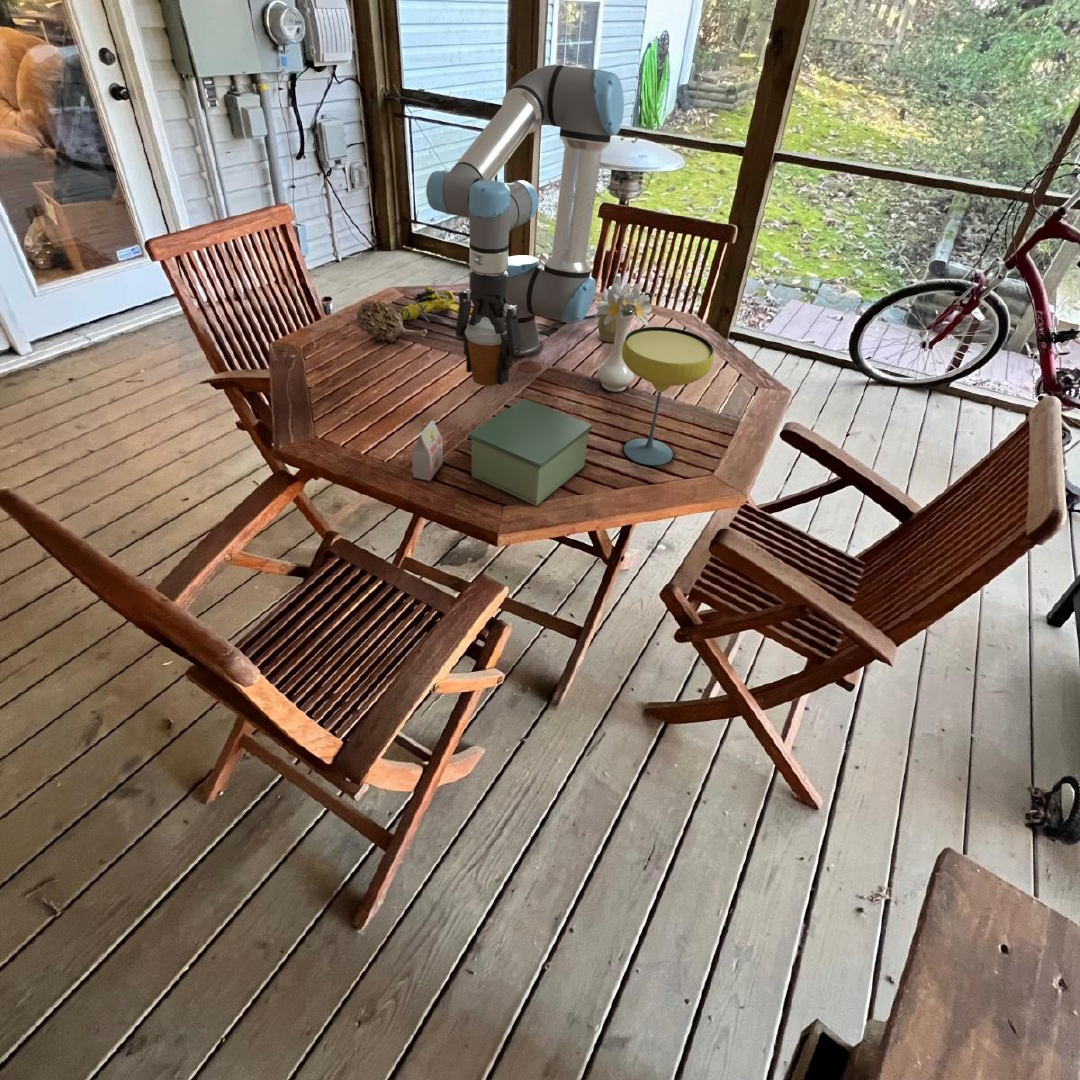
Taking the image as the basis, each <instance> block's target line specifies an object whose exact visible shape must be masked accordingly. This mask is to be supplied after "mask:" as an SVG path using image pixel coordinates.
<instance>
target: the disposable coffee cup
mask: <svg viewBox="0 0 1080 1080" xmlns="http://www.w3.org/2000/svg"><path fill="white" fill-rule="evenodd" d="M505 324H506V323H505ZM506 332H507V331H505V332H503V333H502V334H503V335H505V334H506ZM465 335H466V337H467V340H468V347H469V354H470V362H471V369H472V371H471V376H472V381H473V382H474V383H475V384H477V385H479V386H485V387H490V386H491V387H492V386H496V385H499V384H498V372H499V355H501V354H502V352H501V349H500V344H501V342H502V340H501V336H500V334H499V333H498V334H496V332H495V329H494V326H493V325H492V324H491V322H490V319H488V318H487V317H482V319H481V321H480V323H478V324H476V325H474V326H472V325H470V323H468V325H467V328H466V329H465ZM506 339H507V338H506ZM506 339H504V340H506Z"/></svg>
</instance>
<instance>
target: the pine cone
mask: <svg viewBox="0 0 1080 1080" xmlns="http://www.w3.org/2000/svg"><path fill="white" fill-rule="evenodd" d="M360 304H361V306H358V308H357V309H358V310H357V311H356V312H355V315H356V319H355V321H356V322H357V327H358V328H360V330H361V332H364V333H366V335H367V336H369V337H370V338H372V339H374V338H376V339H377V340H381V341H383V342H384V341H386V340H388V341H389V342H390V343H392V342H395V341H396V339H397V337H399V336H401V335H408V336H419V337H425V336H426V335H427V333H428V329H426V328H424V329H422V330H414V329H406V327H405V326H404V325H403V324H404V322H403V321H404V320H403V316H402V315H401V314H400V313H399V312H397V309H396V308H393V307H392V306H391V305H387V304H386V303H385V302H384V301H381V300H377V301H374V300H372V299H371V300H365V301H364V302H361V303H360Z"/></svg>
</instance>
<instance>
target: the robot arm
mask: <svg viewBox="0 0 1080 1080" xmlns="http://www.w3.org/2000/svg"><path fill="white" fill-rule="evenodd" d="M501 103H502V104H501V107H500V108H499V110H498V111H497V112H496V114H495V115H494V116H493V117H492V119H491V120H490V121H489V122H488V124H487V125H486V126H485V127H484V128H483V130H482V131H481V132H480V134H479V135H477V137H476V138H475V139H474V141H473V142H472V143H471V145H470V146H469V147H468V148H467V150H466V151H465V152H464V153H463V155H462V156H461V157H460V158H459V159H458V161H457V162H456V163H455V165H454V166H453V167H452V168H451V169H450V171H446V170H445V169H444V170H435V171H433V172H431V174H430V175H429V177H428V179H427V183H426V187H425V194H426V196H425V197H426V198H427V203H428V205H429V207H430V208H431V209H432V210H434V211H437V212H441V213H444V214H446V215H451V216H457V217H463V218H467V219H468V226H469V227H468V228H469V230H468V231H469V268H470V270H469V273H468V274H469V289H468V288H467V289H464V290H462V291H460V292H459V293H457V296H458V303H459V304H458V306H459V312H458V314H457V321H456V329H455V336H456V337H457V338H461V340H462V342H463V354H464V356H465V357H466V360H465V362H466V364H465V365H466V366H465V368H466V371H465V372H466V373H469V374H470V373H472V369H471V362H470V354H469V347H468V340H467V337H466V335H465V329H466V328H467V325H468V323H470V325H472V326H474V325H476V324H478V323H480V321H481V319H482V318H488V319H490V322H491V324H492V325H493V326H494V329H495V332H496V334H498V333H499V334H500V336H501V340H502V342H501V344H500V349H501V352H502V354H501V355H499V372H498V384H497V385H500V386H502V385H503V384H505V383H507V382H509V380H510V379H509V378H510V377H509V375H510V370H511V369H512V367H513V358H516V357H517V358H518V357H519V358H520V357H527V356H531V355H534V354H536V353H537V352H538V351H539V350H540V349H541V337H540V335H545V334H549V332H551V331H552V330H553V329H554V328H556V326H558V325H560V324H564V323H565V324H566V322H569V323H568V324H579V323H580V322H582V321H583V320H590V319H594V318H595V316H596V314H589V315H588V313H589V311H590V309H591V307H592V304H593V302H594V300H595V299H594V298H595V295H596V289H597V286H596V285H597V282H596V279H595V278H594V277H592V276H591V267H590V265H589V264H588V262H587V255H588V249H589V248H588V247H589V243H590V242H589V241H590V233H591V228H592V222H593V214H594V207H595V200H596V195H597V187H598V180H599V173H600V166H601V159H602V155H603V154H602V153H603V151H604V150H605V149H606V148H607V147H608V146H610V144H611V137H613V136H616V135H618V134H619V132H620V131H621V127H622V126H621V125H622V124H623V120H624V113H625V111H624V109H625V97H624V89H623V85H622V81H621V79H620V77H619V76H618V75H617V74H616V73H615V72H613V71H607V70H604V69H600V68H597V69H596V68H589V67H578V66H569V65H562V64H557V63H554V64H547V65H543V66H540V67H538V68H536V69H534V70H533V71H530V72H529V73H527V74H525V75H524V76H522V77H521V78H520V79H518V80H517V81H516V82H514V84H513V85H512V86H511V87H510V88H509V89H508V91H507V92H506V93H505V94H504V96H503V98H502V102H501ZM541 126H553V127H556V128H557V127H558V128H559V136H558V137H559V139H560V140H561V142H562V143H563V146H564V151H563V159H562V167H561V168H562V169H561V175H560V185H559V192H558V199H557V200H558V201H557V207H556V208H557V209H556V216H555V224H554V225H555V226H554V233H553V234H554V235H553V240H552V241H553V243H552V248H551V249H552V251H551V256H550V257H549V258H548V259H547V260H545V262H544V265H543V267H542V266H540V261H539V258H537V257H535V256H532V255H512V256H511V255H510V256H509V241H510V240H509V239H510V238H509V237H510V231H512V230H514V229H516V228H517V227H519V226H522V225H524V224H527V222H529V220H531V219H532V218H533V217H535V215H536V213H537V211H538V209H539V205H540V204H539V203H540V202H539V201H540V200H539V195H538V193H537V190H536V188H535V187H534V186H533V185H532V184H531V183H529V182H528V181H526V180H514V181H511V182H510V183H509V182H504V181H497V180H494V179H495V177H496V176H497V175H498V174H499V172H500V171H501V170H502V168H503V167H504V165H505V164H506V163H507V162H508V160H509V159H510V158H511V156H512V155H514V153H515V152H516V150H517V148H519V146H520V145H521V143H522V142H523V140H525V138H526V137H527V135H528V134H533V133H534V132H536V131H537V130H538V129H539V127H541ZM644 293H645V296H648V297H649V298H653V296H652V293H650V292H648V291H647V292H644ZM472 305H473V307H472ZM470 309H473V310H472V312H471V314H470ZM536 316H539V317H544V318H548V319H552V320H556V321H555V322H553V323H552V324H550V326H549V327H548V328H547V329H542V330H539V329H538V325H537V321H536ZM599 316H600V315H598V316H597V317H596V318H599ZM596 318H595V319H596ZM505 323H506V324H505ZM505 331H507V332H506V334H505V335H503V334H502V333H503V332H505ZM506 338H507V339H506ZM504 339H506V340H504Z"/></svg>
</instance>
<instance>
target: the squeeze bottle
mask: <svg viewBox="0 0 1080 1080" xmlns="http://www.w3.org/2000/svg"><path fill="white" fill-rule="evenodd" d="M613 284H617V285H618V286H619V287H620V290H622V288H623V287H624V286H623V287H622V285H623V284H622V275H621V274H616V275H615V278H614V281H613ZM611 287H612V285H611V286H608V288H607V290H608V293H610V292H611V293H612V291H611ZM602 301H604V300H602ZM621 307H622V306H621ZM620 310H621V308H620ZM607 315H610V314H600V316H599V317H598V321H597V329H598V334H599V339H600V340H602V341H604V342H606V343H614V339H615V334H616V318H615V317H614V318H613V319H612V320H611V321H610V323H609V324H608V325H604V320H605V318H606V316H607Z"/></svg>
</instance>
